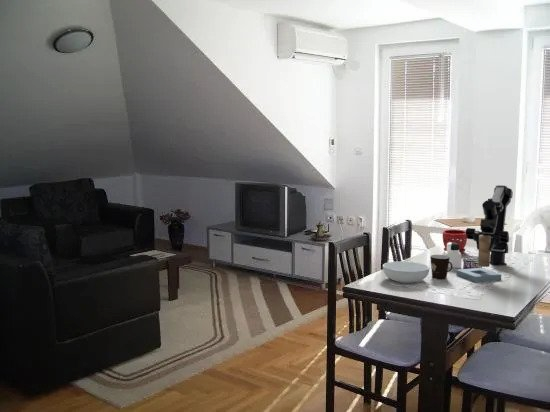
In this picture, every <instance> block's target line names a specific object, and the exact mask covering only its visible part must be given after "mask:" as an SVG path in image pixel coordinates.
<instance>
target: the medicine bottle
mask: <svg viewBox="0 0 550 412" xmlns="http://www.w3.org/2000/svg"><path fill="white" fill-rule="evenodd" d="M443 251H444V250H443ZM462 254H463V253H462ZM462 254H461V253H460V252H459V244H458V243H455V242H449V243H447V251H444V253H443V255H446V256H449V257H450V258H449V262H451V263H452V269H457V268H458V269H460V268H462ZM449 268H450V269H451V264H450V263H449V265H448V269H449Z"/></svg>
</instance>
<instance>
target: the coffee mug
mask: <svg viewBox="0 0 550 412" xmlns="http://www.w3.org/2000/svg"><path fill="white" fill-rule="evenodd" d="M449 258H450V257H449V256H446V255H444V254H430V266H431V267H430V270H431V278H432V279H434V280H446V279H447V277H448V276H447V275H448V273H449V272H451V271H452V269H453V268H452V263H451V262H449ZM449 263H450V264H451V268H450V269H449V268H448V265H449Z"/></svg>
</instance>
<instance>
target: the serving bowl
mask: <svg viewBox="0 0 550 412" xmlns="http://www.w3.org/2000/svg"><path fill="white" fill-rule="evenodd" d="M382 270H383V273H384V275H385V276H386V277H387V278H388V279H390V280H393V281H396V282H398V283H401V284H412V283H417V282H421V281H423V280H425V279H426V278H427V277H428V275H429V272H430V270H431V267H430V266H429V265H427V264H424V263H421V262H415V261H414V262H413V261H389V262H385V263H383V264H382Z"/></svg>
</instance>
